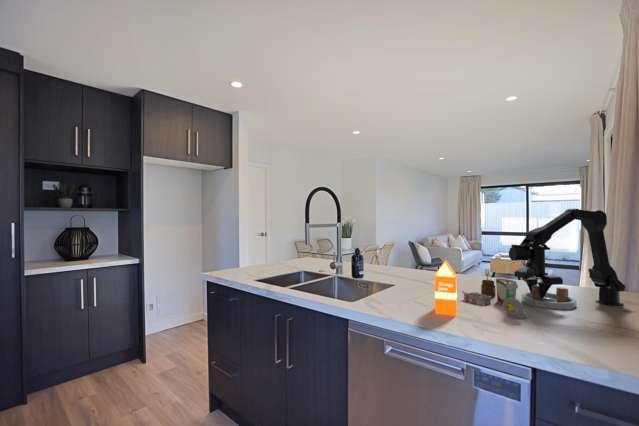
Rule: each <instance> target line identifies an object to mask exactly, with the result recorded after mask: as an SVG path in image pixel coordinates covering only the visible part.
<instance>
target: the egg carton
mask: <svg viewBox="0 0 639 426" xmlns="http://www.w3.org/2000/svg"><path fill="white" fill-rule="evenodd" d="M462 294H463V301H465V302H470V303H475V304H477V305H480V306H485V305H486V304H487V305H491V300H492V299H491V298H493V297H492V296H487V295H483V294H481V292H477V291H475V292H474V291H473V292H470V293H469V292H468V293H467V292H465V291H462Z"/></svg>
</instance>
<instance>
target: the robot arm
mask: <svg viewBox="0 0 639 426" xmlns="http://www.w3.org/2000/svg"><path fill="white" fill-rule="evenodd" d="M575 220H578V221H580V222H581V225H582V227H584V229H585V230H586V232H587V233H588V238H589V245H590V246H589V247H590V249H591V250H590V251H591V255H592V262H593V265H592V266H591V267H592V268H588V269H587V270H588V271H587V272H588V273H589V278H590V281H592V282H593V284H594V287H596V288H599V289H598V290H599V291H598V300H597V299H596V300H595V302H596V303H600V304H604V305H608V306H611V307H612V306H624V303H623V302H620V299H621V298H620V296H621V295H620V292H625V290H626V285H625V284H624V283H623V282H621V280H619V278H618V275H617V272H616V270H615V269H614V268H613V267H612V266H611V264H610V260H609V255H608V249H607V244H606V238H605V231H604V230H605V228H606V227H607V224H608V222H607V221H608V217H607V213H606V212H604V211H603V210H601V209H600V210H599V209H598V210H588V209H587V210H585V209H579V208H566V210H565V211H564V212H563V213H561V214H559V215H558V216H556V217H555V218H553V219H552V220H550V221H549V222H547V223H545V224H544V225H543V226H540V227H537V228H536V227H535V228H534V229H531V230H529V231H527V232H526V234H525V237H524V239H523V240H522V241H521V243H520V244H511V247H510V248H509V250H508V257H509V259H510V260H511V261H512V262H515V261H527V262H525V266H523V267H520V268H518V269H516V270H515V271H514V277H517V278H519V279H521V280H522V281H523V282H525V283H526V284H527V286H528V289H529V292H531V295H532V288H531V285H539V289H540V298H544V296H545V295H546V293H548V291H549V290H550V288H551V287H552V286H553V285H563V283H564V279H563V278H562V277H561V276H558V275H557V276H556V275H549V274H548V272H546V267H548V265H549V264H548V263H547V262H546V251H550V250H551V248H550V247H549V246H547V243H548V242H549V241H550V240H551V239H552V237H553V235H554V234H555V233H556V232H558V231H560V230H561V229H563V228H564V227H565V226H567V225H569V224H570V223H571V222H573V221H575ZM539 280H540V281H539ZM538 281H539V282H538Z"/></svg>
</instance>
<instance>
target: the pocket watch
mask: <svg viewBox="0 0 639 426" xmlns="http://www.w3.org/2000/svg"><path fill="white" fill-rule="evenodd" d="M509 292H513V291H509ZM509 292H508V293H509ZM514 293H515V292H514ZM509 294H510V293H509ZM510 295H511V296H512V297H509V298H506V299H505V300H504V301H503V305H502V309H503V310H504V312H505V313H506V315H507V316H509V317H511V318H515V319H526V318H528V314H527V313H524V312H523V311H524V306H523V304H522V302H521V301H520V300H519V299H517V298H513V296H515V295H516V296H517V292H516V293H515V295H514V294H513V293H512V294H510ZM508 305H509V306H508ZM508 307H510V308H508Z"/></svg>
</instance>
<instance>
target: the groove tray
mask: <svg viewBox="0 0 639 426" xmlns="http://www.w3.org/2000/svg"><path fill="white" fill-rule="evenodd" d="M521 299H522V300H521V301H522V302H523V303H525V304H528V305H530V306H535V307H538V308H544V309H552V310H573V309H575V308H577V307H576V306H577V300H576V299H575V298H573V297H571V296H568V302H563V303H559V302H557V300H556V293H550V292H547V293H546V295H545V296H544V298H543V301H541V300H536V299H532V295H531V292H530V291H529V292H524V293H522V294H521Z"/></svg>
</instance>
